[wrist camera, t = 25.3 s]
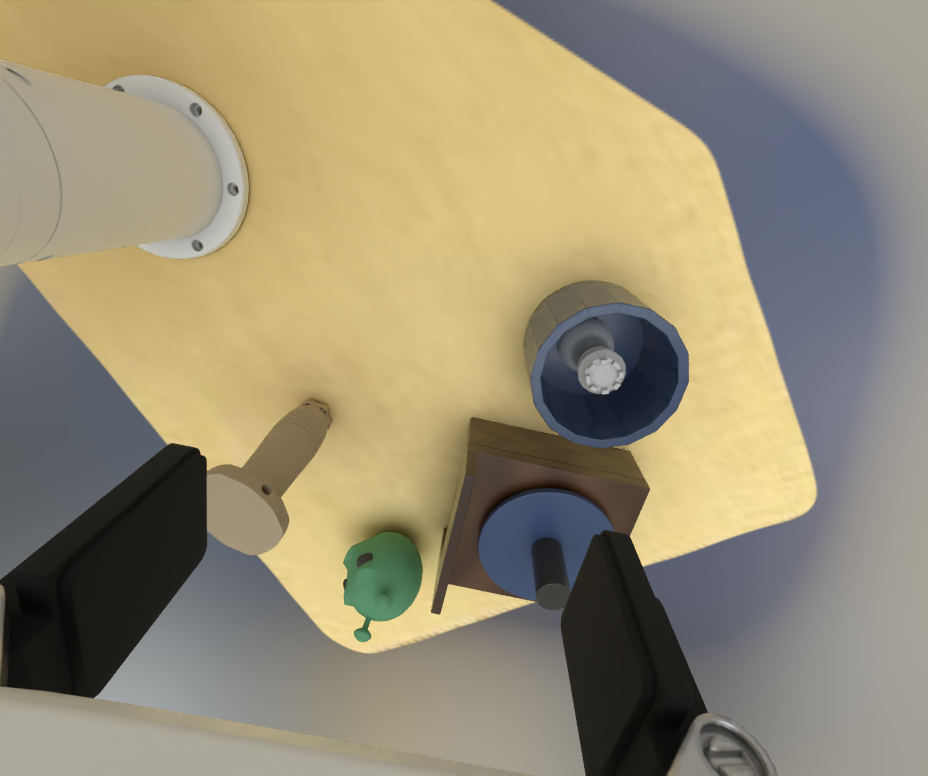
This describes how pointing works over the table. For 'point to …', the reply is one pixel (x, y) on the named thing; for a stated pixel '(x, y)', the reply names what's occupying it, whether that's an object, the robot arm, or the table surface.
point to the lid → (540, 543)
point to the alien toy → (382, 578)
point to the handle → (264, 482)
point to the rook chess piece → (592, 356)
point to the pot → (635, 340)
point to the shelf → (521, 469)
